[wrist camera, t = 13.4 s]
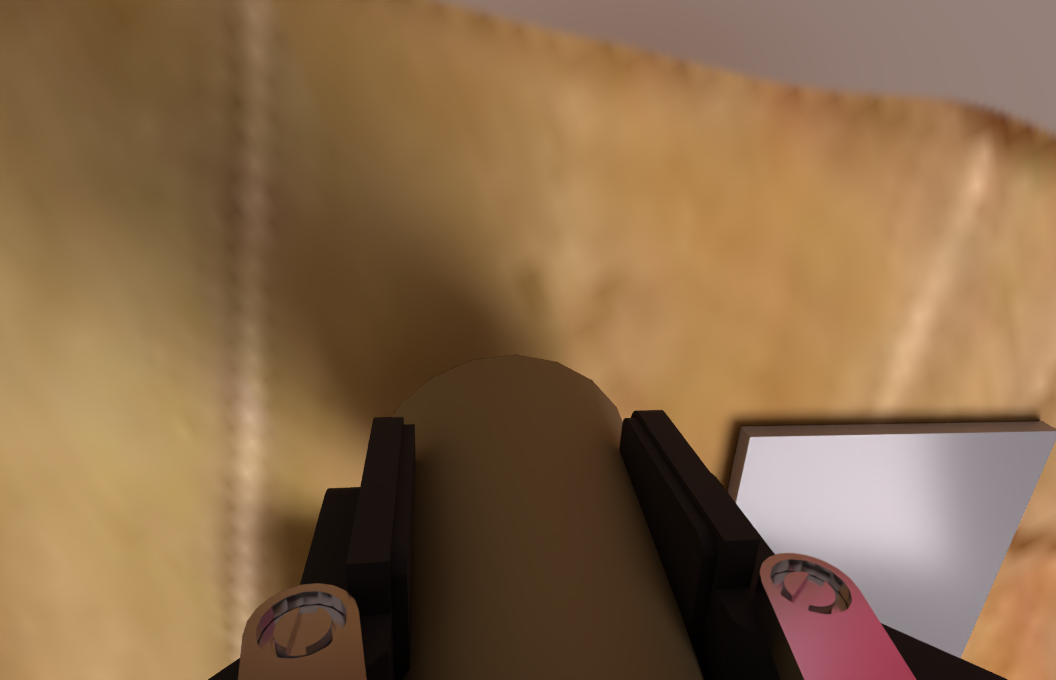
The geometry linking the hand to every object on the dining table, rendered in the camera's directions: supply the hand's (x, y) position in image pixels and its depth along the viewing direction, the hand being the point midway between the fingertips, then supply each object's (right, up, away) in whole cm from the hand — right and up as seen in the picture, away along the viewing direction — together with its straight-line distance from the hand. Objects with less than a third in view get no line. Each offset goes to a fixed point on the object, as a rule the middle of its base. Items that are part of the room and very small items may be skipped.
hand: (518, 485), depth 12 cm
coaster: (+11, -4, +9) cm, 15 cm away
